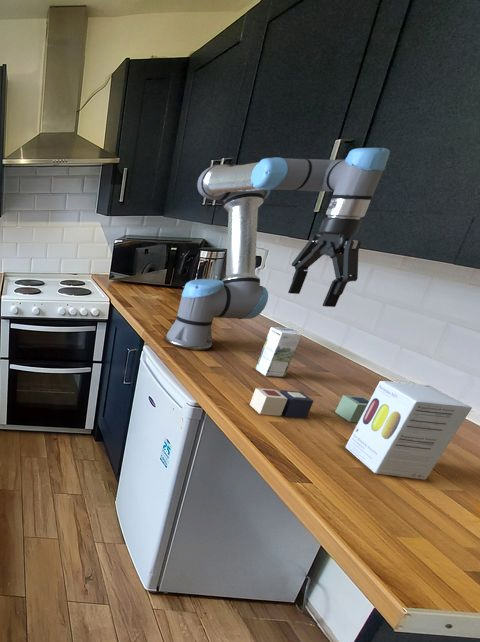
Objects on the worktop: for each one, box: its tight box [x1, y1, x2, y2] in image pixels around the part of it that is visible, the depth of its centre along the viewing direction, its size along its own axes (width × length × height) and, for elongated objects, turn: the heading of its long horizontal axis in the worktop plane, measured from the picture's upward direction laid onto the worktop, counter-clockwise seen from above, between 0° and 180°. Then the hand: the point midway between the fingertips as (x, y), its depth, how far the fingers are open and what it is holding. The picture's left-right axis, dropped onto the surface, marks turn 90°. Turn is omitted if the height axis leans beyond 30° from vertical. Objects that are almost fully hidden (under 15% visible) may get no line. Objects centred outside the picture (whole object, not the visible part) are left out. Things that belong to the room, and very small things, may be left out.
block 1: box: [249, 387, 287, 417], centre depth 102 cm, size 5×5×5 cm
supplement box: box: [345, 380, 473, 480], centre depth 81 cm, size 10×9×17 cm
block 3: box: [334, 394, 370, 424], centre depth 100 cm, size 5×5×5 cm
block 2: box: [279, 389, 314, 419], centre depth 102 cm, size 5×5×5 cm
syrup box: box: [255, 326, 302, 378], centre depth 123 cm, size 6×6×14 cm
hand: (310, 299), depth 110 cm, fingers open, 13 cm apart
